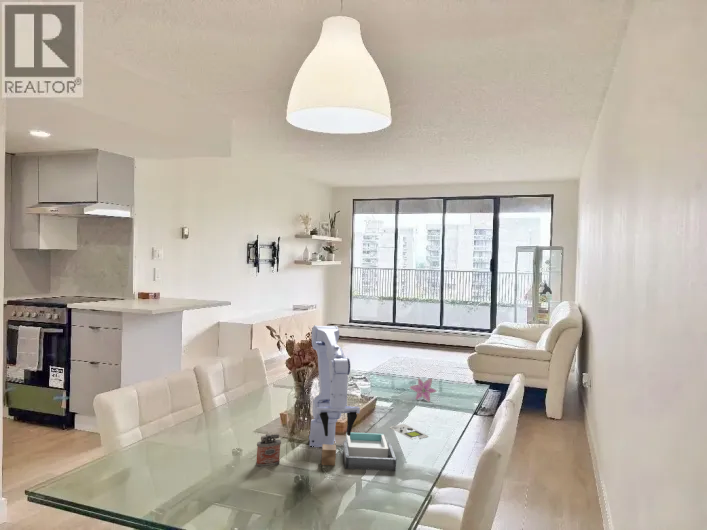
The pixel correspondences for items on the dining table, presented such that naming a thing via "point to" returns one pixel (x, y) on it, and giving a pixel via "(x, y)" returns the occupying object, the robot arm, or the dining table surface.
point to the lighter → (268, 451)
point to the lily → (423, 389)
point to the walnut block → (328, 454)
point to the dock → (370, 461)
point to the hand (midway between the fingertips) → (337, 435)
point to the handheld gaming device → (403, 430)
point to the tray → (367, 445)
